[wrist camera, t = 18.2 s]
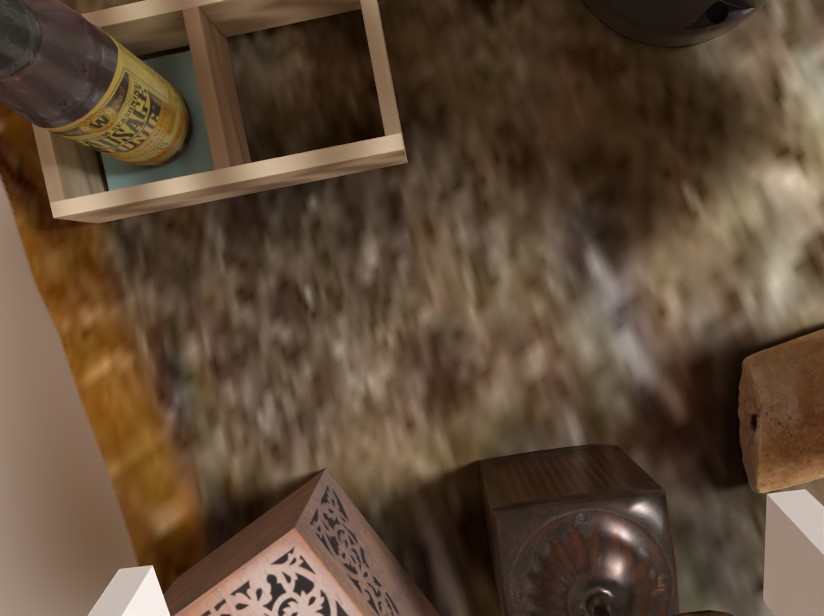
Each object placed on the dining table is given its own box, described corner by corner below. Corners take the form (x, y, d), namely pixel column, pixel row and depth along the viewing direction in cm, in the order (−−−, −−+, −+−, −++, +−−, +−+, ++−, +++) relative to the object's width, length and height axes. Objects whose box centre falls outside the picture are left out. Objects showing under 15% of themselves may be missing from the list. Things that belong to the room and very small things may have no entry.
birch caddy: (375, -10, 40) (367, -48, 36) (407, 162, 41) (404, 149, 36) (61, 57, 42) (10, 29, 37) (98, 223, 42) (53, 218, 37)
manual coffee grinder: (494, 600, 44) (537, 835, 26) (475, 456, 43) (505, 596, 25) (704, 576, 43) (899, 802, 25) (689, 430, 42) (879, 554, 24)
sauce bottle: (146, 187, 42) (-111, 118, 22) (95, 115, 42) (-212, -22, 22) (219, 134, 41) (23, 14, 22) (168, 60, 41) (-78, -130, 21)
